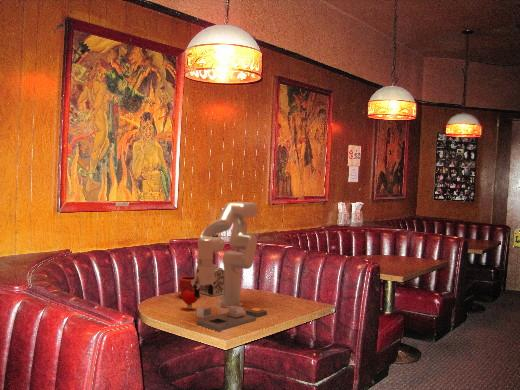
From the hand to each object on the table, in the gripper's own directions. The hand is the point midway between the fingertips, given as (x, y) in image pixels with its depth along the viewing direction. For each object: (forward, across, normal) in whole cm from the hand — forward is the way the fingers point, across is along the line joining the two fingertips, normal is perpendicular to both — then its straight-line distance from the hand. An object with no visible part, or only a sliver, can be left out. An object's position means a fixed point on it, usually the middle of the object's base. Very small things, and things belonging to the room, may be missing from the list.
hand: (203, 295), depth 262 cm
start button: (+10, +25, -15) cm, 31 cm away
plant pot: (+12, +26, +39) cm, 49 cm away
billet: (+12, +1, 0) cm, 12 cm away
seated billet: (+11, +10, -14) cm, 21 cm away
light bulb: (+12, +8, +19) cm, 24 cm away
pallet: (+12, +4, -14) cm, 19 cm away
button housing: (+12, +25, -15) cm, 31 cm away
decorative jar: (+11, +43, +37) cm, 58 cm away
